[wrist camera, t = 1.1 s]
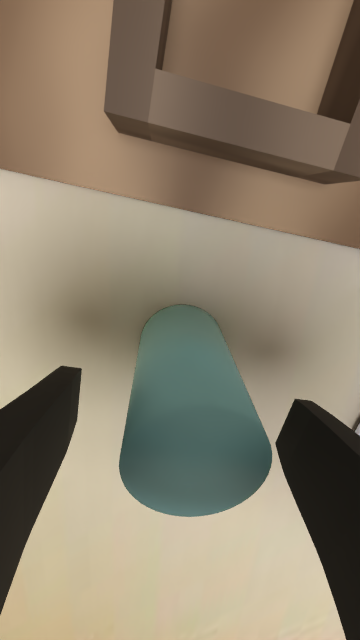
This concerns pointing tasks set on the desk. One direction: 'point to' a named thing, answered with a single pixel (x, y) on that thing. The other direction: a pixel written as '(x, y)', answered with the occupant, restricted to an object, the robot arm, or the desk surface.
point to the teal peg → (190, 420)
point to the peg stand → (191, 105)
